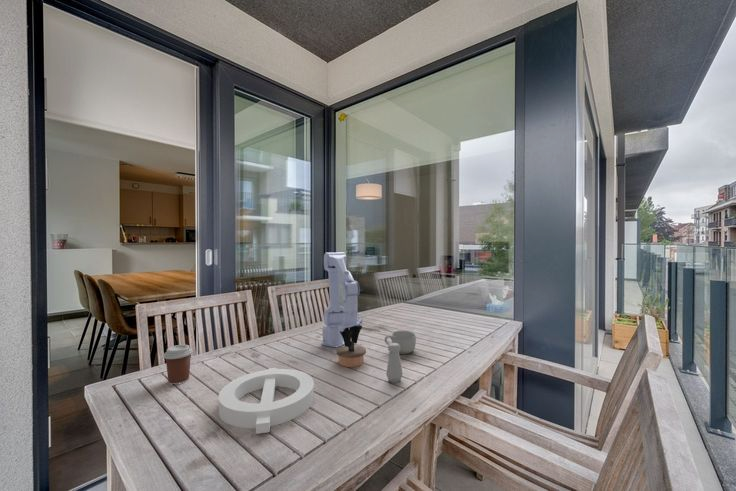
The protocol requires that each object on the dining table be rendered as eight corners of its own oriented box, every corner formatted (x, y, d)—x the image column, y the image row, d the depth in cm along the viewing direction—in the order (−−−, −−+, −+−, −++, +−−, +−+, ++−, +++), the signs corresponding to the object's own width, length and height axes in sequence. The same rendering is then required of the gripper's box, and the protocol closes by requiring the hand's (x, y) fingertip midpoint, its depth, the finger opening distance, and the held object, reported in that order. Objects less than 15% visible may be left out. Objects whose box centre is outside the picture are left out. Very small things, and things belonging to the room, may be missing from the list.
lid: (330, 353, 128) (330, 343, 128) (349, 345, 138) (349, 335, 138) (353, 360, 121) (353, 348, 121) (371, 350, 131) (371, 340, 131)
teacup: (415, 347, 146) (415, 330, 145) (416, 356, 135) (416, 337, 135) (385, 347, 147) (385, 330, 147) (384, 355, 136) (384, 337, 136)
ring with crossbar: (262, 441, 79) (261, 423, 79) (198, 410, 94) (198, 394, 94) (331, 394, 103) (331, 380, 103) (272, 375, 118) (272, 363, 118)
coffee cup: (189, 373, 120) (188, 341, 120) (196, 380, 113) (196, 347, 113) (161, 381, 113) (160, 347, 113) (167, 389, 107) (166, 354, 107)
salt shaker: (404, 378, 114) (404, 342, 114) (400, 385, 108) (400, 347, 108) (388, 376, 116) (388, 340, 116) (384, 382, 110) (384, 345, 110)
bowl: (333, 363, 128) (333, 353, 128) (348, 355, 136) (348, 346, 136) (354, 368, 123) (354, 358, 122) (368, 360, 131) (367, 350, 131)
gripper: (348, 316, 121) (348, 351, 121) (368, 309, 133) (368, 341, 133) (333, 314, 125) (334, 348, 125) (354, 307, 137) (354, 338, 137)
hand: (350, 344), depth 129 cm, fingers open, 4 cm apart
